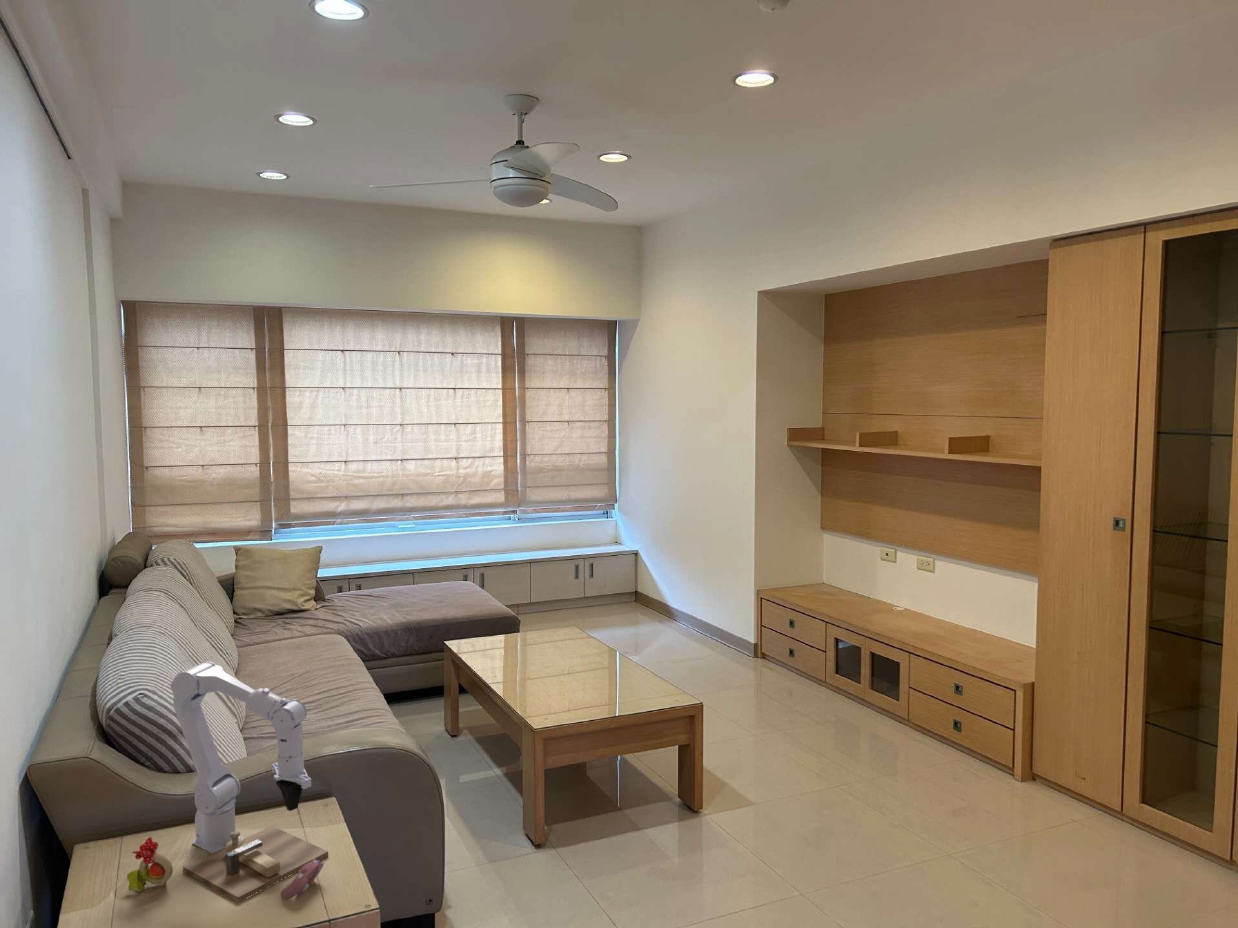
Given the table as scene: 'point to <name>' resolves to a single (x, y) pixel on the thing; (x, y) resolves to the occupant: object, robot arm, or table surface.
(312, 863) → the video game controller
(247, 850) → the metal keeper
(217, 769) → the robot arm
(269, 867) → the wooden link
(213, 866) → the walnut board
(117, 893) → the table surface
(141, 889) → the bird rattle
